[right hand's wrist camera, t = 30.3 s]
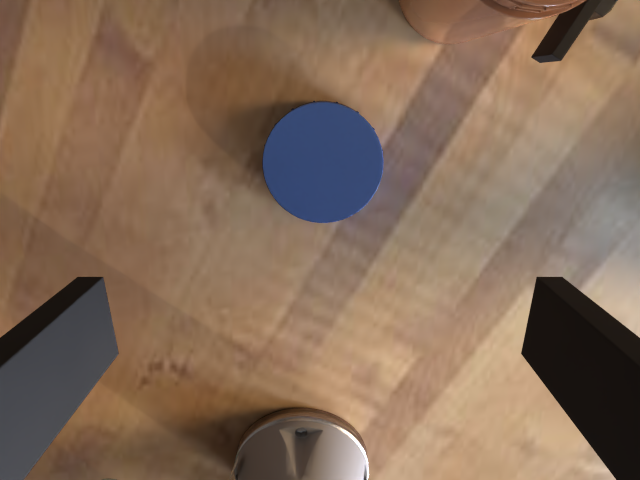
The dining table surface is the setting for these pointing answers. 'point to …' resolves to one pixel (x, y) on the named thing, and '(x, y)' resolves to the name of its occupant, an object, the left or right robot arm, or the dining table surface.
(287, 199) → the lid
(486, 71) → the dining table surface
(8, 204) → the dining table surface
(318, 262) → the dining table surface
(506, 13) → the jar
